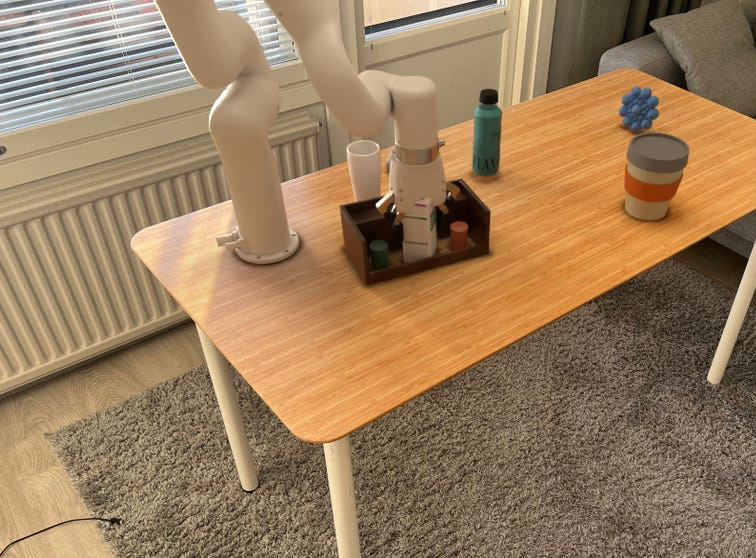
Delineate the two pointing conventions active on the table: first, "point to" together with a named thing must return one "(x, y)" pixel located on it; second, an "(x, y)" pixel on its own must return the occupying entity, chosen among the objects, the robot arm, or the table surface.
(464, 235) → the salmon pink cylinder
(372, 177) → the drinking glass
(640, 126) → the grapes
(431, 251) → the syrup box
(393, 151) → the wristwatch
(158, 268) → the table surface
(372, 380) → the table surface
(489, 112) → the beverage bottle
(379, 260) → the green spice tin
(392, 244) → the spice rack
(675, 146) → the reusable coffee cup
